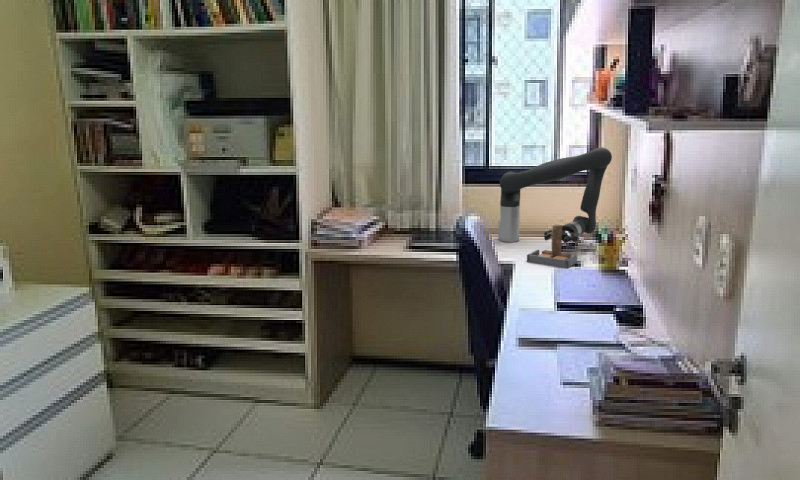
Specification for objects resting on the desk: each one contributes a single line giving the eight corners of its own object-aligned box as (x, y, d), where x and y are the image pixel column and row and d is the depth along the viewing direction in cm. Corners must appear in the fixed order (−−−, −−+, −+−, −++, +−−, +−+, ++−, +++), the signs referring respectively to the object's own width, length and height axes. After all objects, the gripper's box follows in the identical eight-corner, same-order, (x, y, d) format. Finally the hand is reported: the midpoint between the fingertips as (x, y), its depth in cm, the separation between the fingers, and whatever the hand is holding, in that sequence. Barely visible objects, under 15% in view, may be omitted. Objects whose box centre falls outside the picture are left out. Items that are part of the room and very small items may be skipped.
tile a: (536, 261, 248) (536, 256, 248) (541, 258, 252) (541, 253, 251) (547, 263, 245) (548, 257, 245) (552, 260, 249) (552, 255, 249)
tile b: (551, 264, 244) (552, 258, 244) (556, 261, 248) (557, 255, 247) (563, 266, 241) (563, 260, 241) (568, 263, 245) (568, 257, 244)
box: (526, 261, 248) (527, 254, 247) (537, 256, 255) (537, 249, 255) (567, 268, 237) (567, 261, 236) (576, 262, 244) (577, 255, 244)
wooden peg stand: (541, 258, 252) (542, 224, 249) (544, 256, 254) (545, 223, 251) (568, 262, 245) (569, 227, 241) (571, 260, 247) (572, 226, 244)
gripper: (555, 221, 261) (539, 228, 249) (586, 225, 253) (571, 232, 241) (554, 237, 263) (539, 245, 251) (585, 241, 255) (570, 250, 242)
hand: (555, 239), depth 246 cm, fingers open, 8 cm apart
